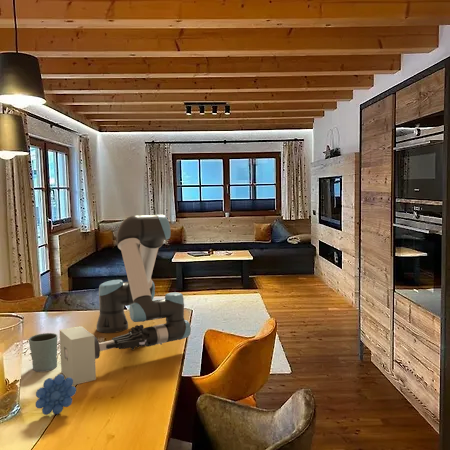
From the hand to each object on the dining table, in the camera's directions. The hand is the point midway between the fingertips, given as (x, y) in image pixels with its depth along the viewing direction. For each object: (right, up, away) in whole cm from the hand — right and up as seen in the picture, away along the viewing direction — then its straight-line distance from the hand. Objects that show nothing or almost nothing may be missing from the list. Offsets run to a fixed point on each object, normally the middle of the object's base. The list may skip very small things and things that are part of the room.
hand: (96, 347), depth 171 cm
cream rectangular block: (-6, -9, -3) cm, 12 cm away
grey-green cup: (-22, -9, +5) cm, 24 cm away
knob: (-5, -4, -3) cm, 7 cm away
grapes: (-3, -11, -32) cm, 34 cm away
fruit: (+9, -7, +28) cm, 30 cm away
